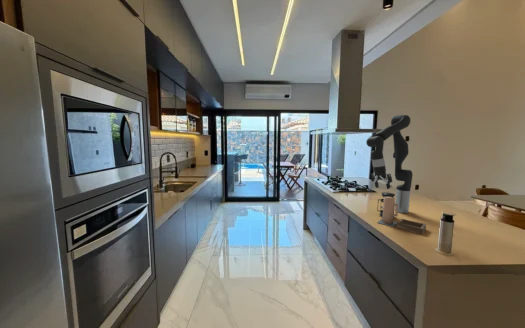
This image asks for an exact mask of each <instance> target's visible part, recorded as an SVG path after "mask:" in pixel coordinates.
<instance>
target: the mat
mask: <svg viewBox="0 0 525 328" xmlns="http://www.w3.org/2000/svg"><path fill="white" fill-rule="evenodd" d="M397 222H398V221H397ZM397 222H396V221H394V220H393V224H386V223H383V222H382V218H381V219H380V220H378V221H377V223H376V224H379V225H382V226H386V227H387V226H388V227H392V228H394V227H397Z"/></svg>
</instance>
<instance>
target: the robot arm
mask: <svg viewBox="0 0 525 328" xmlns="http://www.w3.org/2000/svg"><path fill="white" fill-rule="evenodd" d="M410 125H411V117H410V116H409V115H408V114H400V115H393V116H392V117H391V120H390V125H389V126H386V127H383V128H382V129H381V130H380V131H378V132H376V133H374V134H373V135H371V136H369V137H368V138H367V139H366V142H365V143H366V145H367V147H369V148H375V149H374V150H371V152H370V153H371V154H370V156H371V164H372V170H373V172H372V173H370V179H371V183H374V186H375V189H378V188H379V187H380V186H379V181H383V182H384V183H385V187H386V189H387V190H388V189H389V190H390V189H391V187H390V185H391V183H393V179H392V178H393V177H392V174H391V173H390V172H389V173H387V168H386V163H385V157H384V153H383V152H384V144H385V142H384V141H386V140H387V139H389V138H390V137H392V138H393V153H394V176H395V180H396V181H399V182H403V184H399V185H396V188H395V189H396V190H395V192H396V193H395V204H398V213H402V214H408V213H409V211H410V201H411V200H410V198H411V188H412V183H413V175H414V174H413V171H412V170H411V169H403V168H402V166H403V162H404V161H405V160H406V159H407V157H408V155H409V144H408V142H407V140H406V139H405V137H404V136H403V135H402V133H401V132H402V131H401V130H404V129H406V128H408V127H409V126H410ZM394 212H396V206H395V207H394Z"/></svg>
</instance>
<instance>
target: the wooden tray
mask: <svg viewBox="0 0 525 328" xmlns="http://www.w3.org/2000/svg"><path fill="white" fill-rule="evenodd" d="M396 229H398V230H403V231H407V232H411V233H414V234H418V235H423V234H424V233H425V231H426V229H427V223H422V222H418V221H414V220H413V221H412V220H409V219H405V218H401V219H400V220H398V221H397V225H396Z"/></svg>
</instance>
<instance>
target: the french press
mask: <svg viewBox="0 0 525 328" xmlns="http://www.w3.org/2000/svg"><path fill="white" fill-rule="evenodd" d="M391 187H393V185H391V184H390V188H391ZM387 191H388V192H385V191H383V192H381V197H383V198H379V199H377V203H383V201H384V197H385V196H387V197H393V198H395V197H396V193H393V192H389V191H390V189H387ZM379 201H380V202H379ZM394 203H395V202H394ZM379 207H380V208H379ZM394 208H395V206H394ZM376 210H377V212H379V216H380V217H381V218H382V215H383V205H380V206H377V208H376ZM394 218H395V216H393V219H394Z"/></svg>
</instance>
